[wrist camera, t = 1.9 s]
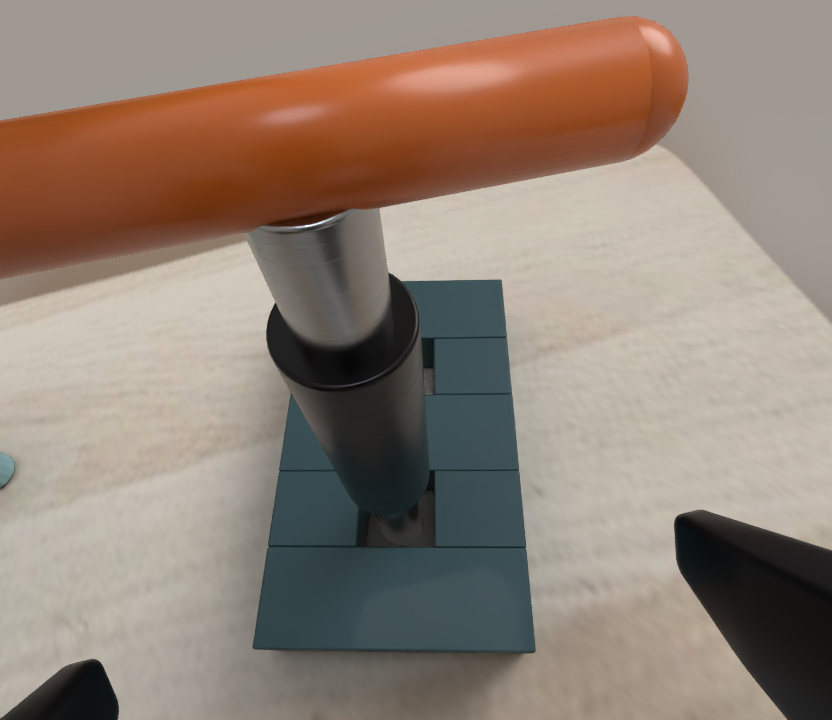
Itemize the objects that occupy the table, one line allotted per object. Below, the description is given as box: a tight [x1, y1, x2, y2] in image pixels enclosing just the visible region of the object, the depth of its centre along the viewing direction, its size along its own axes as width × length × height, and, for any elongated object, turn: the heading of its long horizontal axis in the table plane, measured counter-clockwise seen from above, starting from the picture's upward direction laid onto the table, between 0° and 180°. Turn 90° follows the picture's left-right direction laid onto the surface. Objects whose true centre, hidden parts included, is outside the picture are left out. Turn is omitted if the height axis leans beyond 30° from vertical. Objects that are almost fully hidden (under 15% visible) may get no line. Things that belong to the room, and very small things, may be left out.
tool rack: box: [253, 280, 536, 654], centre depth 20 cm, size 14×9×2 cm, turn 179°
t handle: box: [0, 16, 688, 545], centre depth 12 cm, size 8×2×18 cm, turn 102°
